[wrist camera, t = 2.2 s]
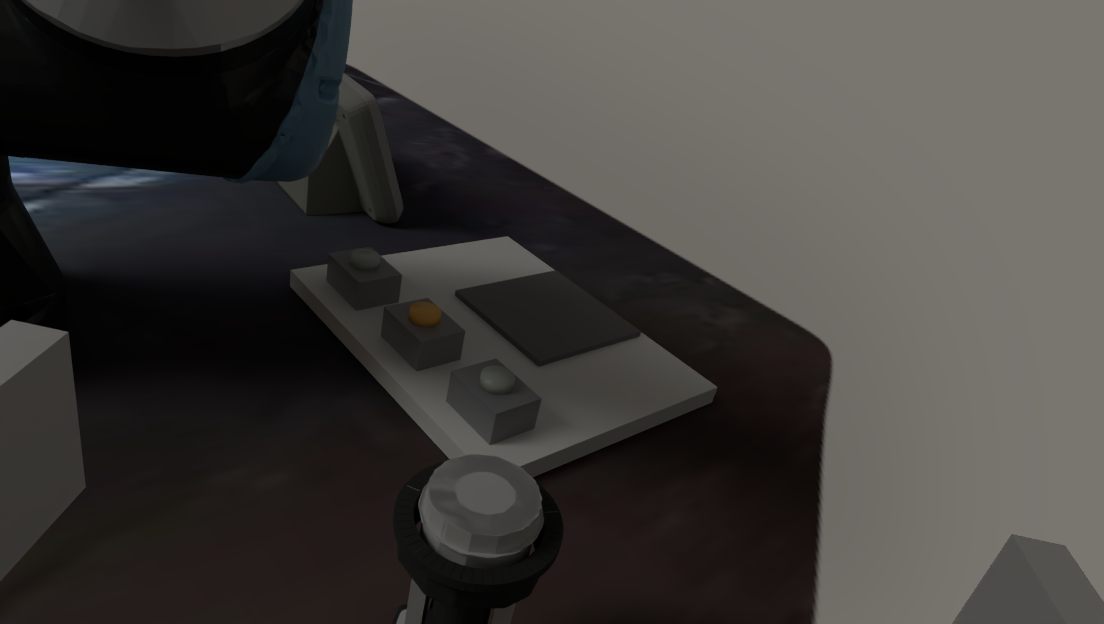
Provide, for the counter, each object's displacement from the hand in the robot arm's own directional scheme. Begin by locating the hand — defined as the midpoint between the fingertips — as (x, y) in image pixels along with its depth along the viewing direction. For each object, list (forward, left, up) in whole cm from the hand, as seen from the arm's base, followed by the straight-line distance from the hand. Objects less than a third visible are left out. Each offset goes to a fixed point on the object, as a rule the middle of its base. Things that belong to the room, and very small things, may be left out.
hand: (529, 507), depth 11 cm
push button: (-7, +7, -19) cm, 22 cm away
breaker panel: (-26, +23, -19) cm, 39 cm away
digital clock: (-51, +24, -19) cm, 59 cm away
